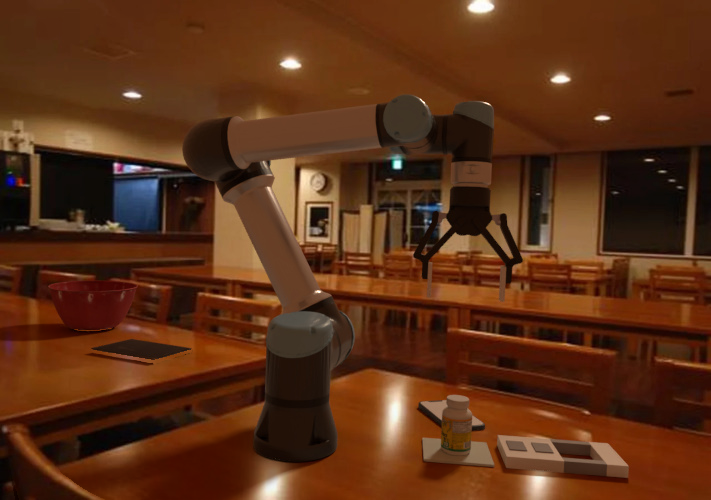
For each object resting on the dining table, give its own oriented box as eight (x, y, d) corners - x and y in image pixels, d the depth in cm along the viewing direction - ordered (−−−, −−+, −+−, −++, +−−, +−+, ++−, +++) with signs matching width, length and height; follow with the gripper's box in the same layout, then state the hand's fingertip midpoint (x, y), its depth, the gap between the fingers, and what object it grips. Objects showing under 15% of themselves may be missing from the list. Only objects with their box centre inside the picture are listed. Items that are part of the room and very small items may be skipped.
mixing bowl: (143, 333, 193) (144, 288, 192) (48, 339, 178) (49, 290, 178) (130, 319, 217) (131, 280, 216) (46, 323, 203) (46, 280, 202)
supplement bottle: (473, 457, 99) (475, 403, 98) (442, 455, 99) (445, 401, 98) (467, 445, 104) (470, 394, 104) (438, 443, 104) (441, 392, 104)
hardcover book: (153, 366, 153) (153, 358, 153) (91, 355, 162) (91, 347, 162) (192, 355, 167) (192, 347, 167) (132, 345, 176) (133, 338, 176)
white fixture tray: (506, 468, 96) (506, 455, 96) (497, 445, 106) (497, 433, 106) (628, 477, 94) (629, 465, 94) (607, 453, 104) (607, 442, 104)
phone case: (487, 432, 114) (451, 405, 130) (488, 424, 114) (451, 399, 129) (448, 435, 112) (415, 408, 127) (448, 427, 112) (416, 401, 127)
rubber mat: (423, 461, 97) (423, 459, 97) (422, 439, 107) (422, 437, 107) (494, 467, 96) (494, 464, 96) (486, 444, 106) (486, 442, 106)
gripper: (402, 183, 104) (397, 297, 105) (542, 187, 100) (536, 305, 101) (405, 186, 111) (400, 292, 112) (535, 190, 108) (529, 300, 109)
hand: (464, 298), depth 107 cm, fingers open, 13 cm apart
